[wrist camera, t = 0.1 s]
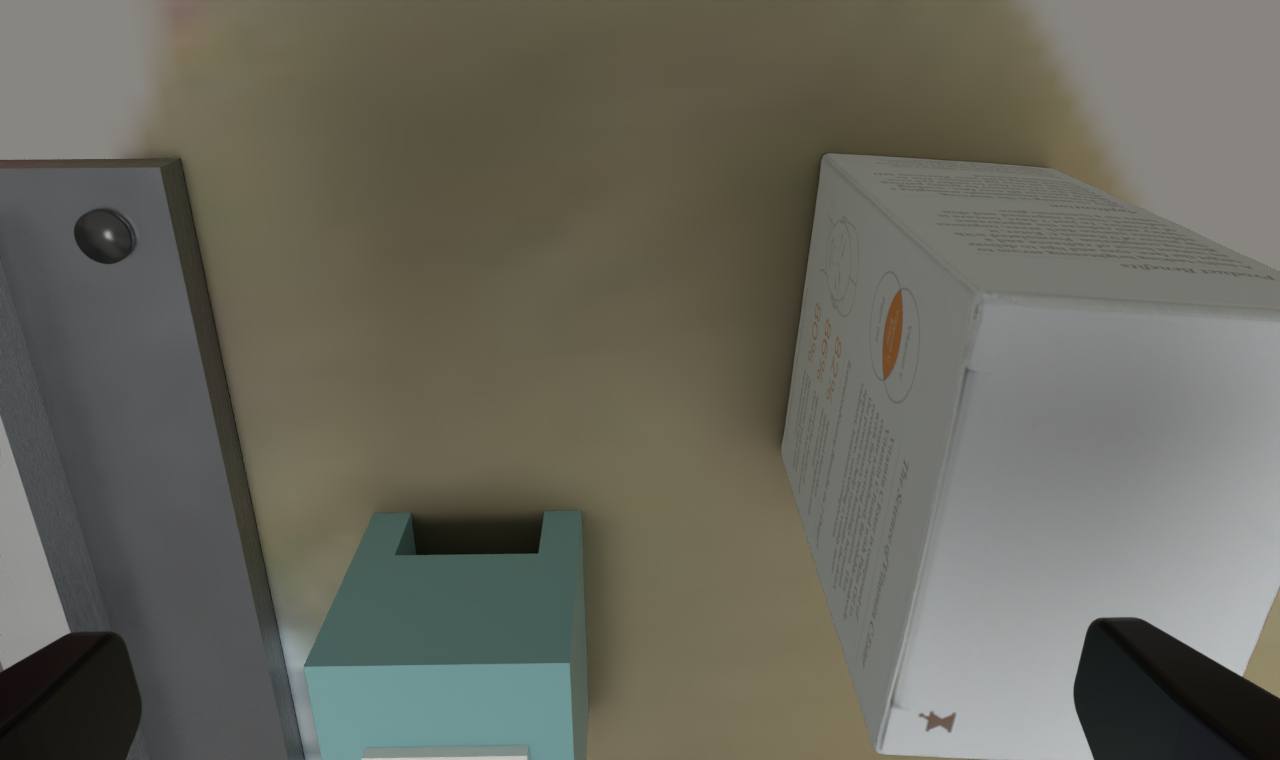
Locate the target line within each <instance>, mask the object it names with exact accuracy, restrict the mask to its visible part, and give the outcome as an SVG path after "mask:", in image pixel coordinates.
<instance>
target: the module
mask: <svg viewBox="0 0 1280 760" xmlns="http://www.w3.org/2000/svg"><path fill="white" fill-rule="evenodd" d="M304 671H305V677H306V682H307V687H308V692H309V697H310V702H311V707H312V712H313V717H314V722H315V727H316V733H317V738H318V743H319V748H320V753H321V758H322V760H586V754H587V733H588V712H589V704H588V676H587V648H586V621H585V593H584V565H583V537H582V511H544V518H543V525H542V532H541V539H540V546H539V552H538V554H469V555H416V549H415V541H414V533H413V525H412V517H411V513H374V514H373V516H372V518H371V520H370V523H369V525H368V527H367V529H366V531H365V534H364V536H363V538H362V540H361V542H360V545H359V547H358V549H357V551H356V553H355V555H354V558H353V560H352V562H351V564H350V566H349V569H348V571H347V573H346V575H345V577H344V580H343V582H342V584H341V586H340V588H339V590H338V593H337V595H336V597H335V599H334V601H333V604H332V606H331V608H330V610H329V612H328V615H327V617H326V619H325V621H324V623H323V625H322V628H321V630H320V632H319V634H318V636H317V639H316V641H315V643H314V645H313V647H312V650H311V652H310V654H309V656H308V658H307V660H306V663H305V665H304Z"/></svg>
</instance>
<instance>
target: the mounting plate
mask: <svg viewBox="0 0 1280 760" xmlns="http://www.w3.org/2000/svg"><path fill="white" fill-rule="evenodd" d="M79 631H113V632H115V633H118V634H119V635H121V637H122V638H123V639H124V641H125V643H126V646H127V649H128V652H129V656H130V659H131V663H132V666H133V670H134V673H135V676H136V680H137V683H138V687H139V690H140V694H141V698H142V708H143V709H142V718H141V722H140V726H139V729H138V732H137V734H136V737H135V739H134V742H133V745H132V747H131V750H130V752H129V755H128V758H127V760H304V755H303V750H302V745H301V740H300V736H299V731H298V726H297V721H296V716H295V711H294V707H293V702H292V697H291V692H290V687H289V682H288V678H287V673H286V668H285V663H284V658H283V654H282V649H281V644H280V639H279V634H278V629H277V625H276V620H275V615H274V610H273V605H272V600H271V596H270V591H269V586H268V581H267V576H266V571H265V567H264V562H263V557H262V552H261V547H260V543H259V538H258V533H257V528H256V523H255V518H254V514H253V509H252V504H251V499H250V494H249V489H248V485H247V480H246V475H245V470H244V465H243V460H242V456H241V451H240V446H239V441H238V436H237V432H236V427H235V422H234V417H233V412H232V407H231V403H230V398H229V393H228V388H227V383H226V378H225V374H224V369H223V364H222V359H221V354H220V349H219V345H218V340H217V335H216V330H215V325H214V320H213V316H212V311H211V306H210V301H209V296H208V292H207V287H206V282H205V277H204V272H203V267H202V263H201V258H200V253H199V248H198V243H197V238H196V234H195V229H194V224H193V219H192V214H191V209H190V205H189V200H188V195H187V190H186V185H185V181H184V176H183V171H182V166H181V161H180V159H82V160H81V159H72V160H0V672H1V671H3V670H5V669H7V668H8V667H10V666H12V665H14V664H15V663H17V662H19V661H21V660H22V659H24V658H26V657H28V656H29V655H31V654H33V653H35V652H36V651H38V650H40V649H41V648H43V647H45V646H47V645H48V644H50V643H52V642H54V641H55V640H57V639H59V638H61V637H62V636H64V635H66V634H68V633H72V632H79Z"/></svg>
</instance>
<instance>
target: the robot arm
mask: <svg viewBox="0 0 1280 760" xmlns="http://www.w3.org/2000/svg"><path fill="white" fill-rule="evenodd" d="M1073 697H1074V705H1075V709H1076V713H1077V716H1078V718H1079V721H1080V724H1081V726H1082V729H1083V732H1084V734H1085V737H1086V740H1087V742H1088V745H1089V748H1090V750H1091V753H1092V756H1093V759H1094V760H1280V698H1278V697H1276V696H1275V695H1273V694H1271V693H1269V692H1268V691H1266V690H1264V689H1263V688H1261V687H1259V686H1257V685H1256V684H1254V683H1252V682H1250V681H1249V680H1247V679H1245V678H1244V677H1242V676H1240V675H1238V674H1237V673H1235V672H1233V671H1231V670H1230V669H1228V668H1226V667H1225V666H1223V665H1221V664H1219V663H1218V662H1216V661H1214V660H1212V659H1211V658H1209V657H1207V656H1206V655H1204V654H1202V653H1200V652H1199V651H1197V650H1195V649H1193V648H1192V647H1190V646H1188V645H1187V644H1185V643H1183V642H1181V641H1180V640H1178V639H1176V638H1174V637H1173V636H1171V635H1169V634H1168V633H1166V632H1164V631H1162V630H1161V629H1159V628H1157V627H1155V626H1154V625H1152V624H1150V623H1149V622H1147V621H1145V620H1143V619H1140V618H1136V617H1101V618H1097V619H1095V620H1093V621H1092V622H1091V624H1090V625H1089V626H1088V629H1087V632H1086V636H1085V640H1084V644H1083V648H1082V652H1081V656H1080V660H1079V665H1078V669H1077V673H1076V677H1075V681H1074V687H1073ZM142 709H143V708H142V698H141V694H140V690H139V687H138V683H137V680H136V676H135V673H134V670H133V666H132V663H131V659H130V656H129V652H128V649H127V646H126V643H125V641H124V639H123V638H122V637H121V635H119V634H118V633H115V632H113V631H79V632H72V633H68V634H66V635H64V636H62V637H61V638H59V639H57V640H55V641H54V642H52V643H50V644H48V645H47V646H45V647H43V648H41V649H40V650H38V651H36V652H35V653H33V654H31V655H29V656H28V657H26V658H24V659H22V660H21V661H19V662H17V663H15V664H14V665H12V666H10V667H8V668H7V669H5V670H3V671H1V672H0V760H127V758H128V755H129V752H130V750H131V747H132V745H133V742H134V739H135V737H136V734H137V732H138V729H139V726H140V722H141V718H142Z"/></svg>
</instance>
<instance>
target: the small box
mask: <svg viewBox="0 0 1280 760" xmlns="http://www.w3.org/2000/svg"><path fill="white" fill-rule="evenodd" d="M781 456H782V459H783V463H784V466H785V469H786V473H787V476H788V479H789V482H790V485H791V489H792V493H793V496H794V499H795V502H796V505H797V509H798V512H799V515H800V518H801V521H802V524H803V528H804V531H805V533H806V537H807V541H808V544H809V547H810V549H811V553H812V557H813V560H814V563H815V566H816V569H817V572H818V576H819V579H820V581H821V584H822V587H823V591H824V594H825V597H826V600H827V603H828V606H829V610H830V613H831V616H832V619H833V621H834V625H835V628H836V631H837V634H838V637H839V640H840V643H841V646H842V649H843V652H844V656H845V659H846V662H847V665H848V668H849V672H850V675H851V678H852V681H853V684H854V688H855V691H856V694H857V697H858V700H859V703H860V707H861V710H862V713H863V716H864V719H865V722H866V725H867V728H868V732H869V736H870V740H871V743H872V746H873V748H874V750H875V751H877V752H878V753H879V754H887V755H906V756H929V757H942V758H968V759H989V760H1094V759H1093V756H1092V753H1091V750H1090V748H1089V745H1088V742H1087V740H1086V737H1085V734H1084V732H1083V729H1082V726H1081V724H1080V721H1079V718H1078V716H1077V713H1076V709H1075V705H1074V697H1073V687H1074V681H1075V677H1076V673H1077V669H1078V665H1079V660H1080V656H1081V652H1082V648H1083V644H1084V640H1085V636H1086V632H1087V629H1088V626H1089V625H1090V624H1091V622H1092V621H1093V620H1095V619H1097V618H1101V617H1136V618H1140V619H1143V620H1145V621H1147V622H1149V623H1150V624H1152V625H1154V626H1155V627H1157V628H1159V629H1161V630H1162V631H1164V632H1166V633H1168V634H1169V635H1171V636H1173V637H1174V638H1176V639H1178V640H1180V641H1181V642H1183V643H1185V644H1187V645H1188V646H1190V647H1192V648H1193V649H1195V650H1197V651H1199V652H1200V653H1202V654H1204V655H1206V656H1207V657H1209V658H1211V659H1212V660H1214V661H1216V662H1218V663H1219V664H1221V665H1223V666H1225V667H1226V668H1228V669H1230V670H1231V671H1233V672H1235V673H1237V674H1238V675H1240V676H1242V677H1244V674H1245V671H1246V668H1247V666H1248V664H1249V661H1250V659H1251V657H1252V654H1253V652H1254V649H1255V647H1256V644H1257V642H1258V639H1259V637H1260V634H1261V632H1262V630H1263V627H1264V625H1265V623H1266V620H1267V618H1268V615H1269V613H1270V610H1271V608H1272V606H1273V603H1274V601H1275V598H1276V596H1277V593H1278V591H1279V588H1280V271H1277V270H1275V269H1273V268H1271V267H1269V266H1267V265H1265V264H1263V263H1260V262H1258V261H1256V260H1254V259H1251V258H1249V257H1247V256H1244V255H1242V254H1240V253H1238V252H1235V251H1233V250H1231V249H1229V248H1226V247H1225V246H1222V245H1220V244H1218V243H1216V242H1214V241H1212V240H1209V239H1207V238H1206V237H1203V236H1201V235H1200V234H1198V233H1195V232H1193V231H1191V230H1189V229H1187V228H1185V227H1183V226H1181V225H1179V224H1176V223H1174V222H1172V221H1169V220H1167V219H1164V218H1162V217H1159V216H1157V215H1155V214H1153V213H1151V212H1148V211H1146V210H1144V209H1142V208H1140V207H1137V206H1135V205H1133V204H1130V203H1128V202H1126V201H1124V200H1122V199H1120V198H1118V197H1115V196H1113V195H1111V194H1109V193H1107V192H1105V191H1103V190H1101V189H1098V188H1096V187H1094V186H1092V185H1089V184H1087V183H1085V182H1083V181H1080V180H1078V179H1076V178H1074V177H1071V176H1069V175H1066V174H1064V173H1062V172H1060V171H1058V170H1055V169H1052V168H1042V167H1031V166H1019V165H1008V164H994V163H980V162H965V161H948V160H933V159H918V158H903V157H888V156H873V155H852V154H835V153H831V154H825V155H824V156H823V158H822V160H821V170H820V178H819V186H818V193H817V200H816V207H815V215H814V222H813V229H812V236H811V244H810V251H809V258H808V265H807V272H806V279H805V286H804V294H803V301H802V309H801V316H800V323H799V330H798V337H797V343H796V350H795V357H794V365H793V373H792V380H791V388H790V395H789V402H788V409H787V416H786V423H785V430H784V436H783V441H782V446H781Z"/></svg>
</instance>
